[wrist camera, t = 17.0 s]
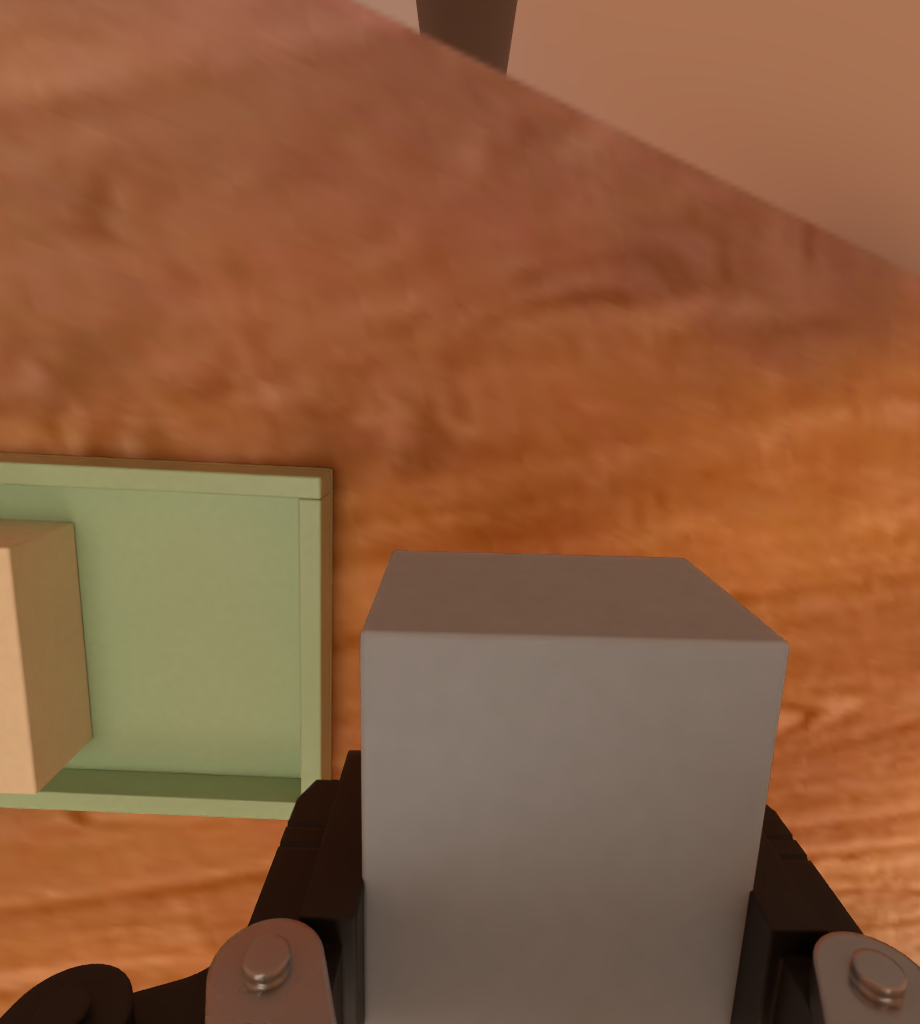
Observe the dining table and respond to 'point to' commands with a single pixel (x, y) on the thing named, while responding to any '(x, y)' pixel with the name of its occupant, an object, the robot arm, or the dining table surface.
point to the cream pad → (40, 655)
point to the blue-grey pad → (560, 788)
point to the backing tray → (192, 630)
